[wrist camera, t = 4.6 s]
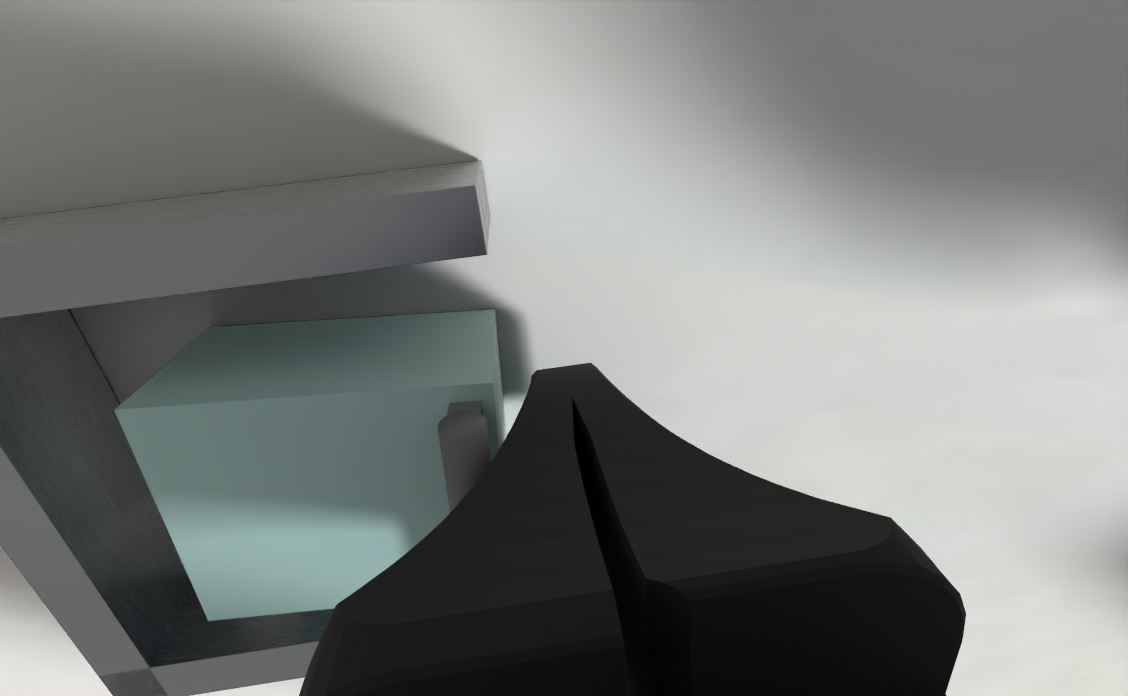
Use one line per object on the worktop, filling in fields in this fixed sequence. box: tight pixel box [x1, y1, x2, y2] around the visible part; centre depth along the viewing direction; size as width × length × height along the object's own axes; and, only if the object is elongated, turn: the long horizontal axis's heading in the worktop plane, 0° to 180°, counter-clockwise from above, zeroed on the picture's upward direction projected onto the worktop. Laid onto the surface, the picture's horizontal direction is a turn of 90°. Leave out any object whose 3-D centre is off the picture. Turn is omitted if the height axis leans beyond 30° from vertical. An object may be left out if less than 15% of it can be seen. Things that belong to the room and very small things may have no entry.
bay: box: [0, 160, 490, 696], centre depth 11 cm, size 9×10×2 cm
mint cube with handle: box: [114, 309, 506, 621], centre depth 10 cm, size 6×4×4 cm
